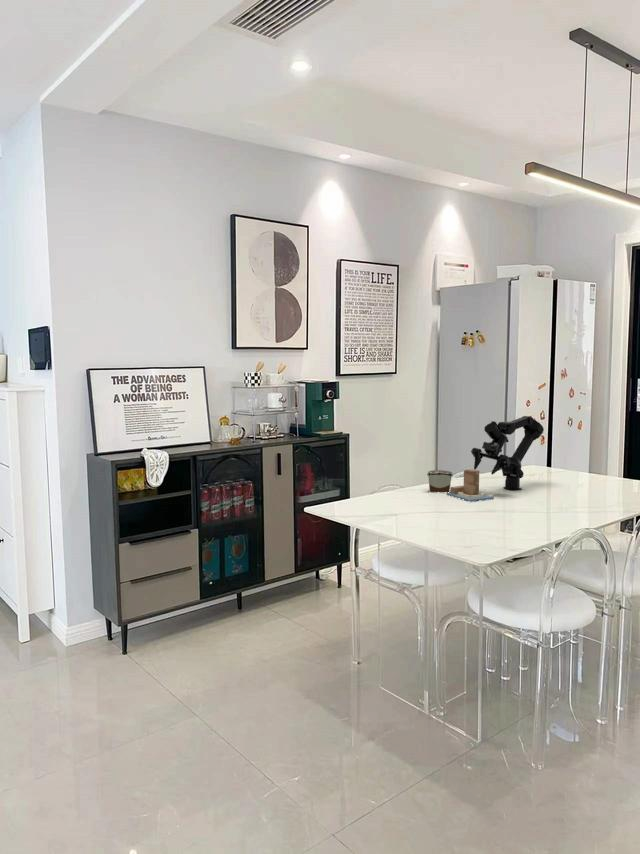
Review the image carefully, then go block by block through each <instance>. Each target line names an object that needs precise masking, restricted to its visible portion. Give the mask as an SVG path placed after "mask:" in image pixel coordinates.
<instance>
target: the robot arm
mask: <svg viewBox="0 0 640 854" xmlns="http://www.w3.org/2000/svg"><path fill="white" fill-rule="evenodd" d="M520 428H522V429H523V432H524V436H523V437H522V439H521V441H520V442H519V444H518V446H517V448H516V449H515V451H514V453H513V454H512V456H508V455H505V454H501V453H502V452H503V447H504V445H505V443H509V437H508V436H511V435H512V434H513V433H515V431H516V430H518V429H520ZM544 429H545V428H544V426H543V425H542V424H541V423H540V422H539V421H538V420H535V419H534V417H532V416H528V415H523V416H521V417H518V418H516V419H513V420H511V421H499V422H498V423H497V422H496V421H495V420H494V421H490V422H489V423H488V424H486V425H485V426H484V430H483V431H484V432H485V434H486V435H487V436H488V437H489V438H490V439H492V440H491V441H490V442H487V441H483V444H482V447H481V448H482V449H484V452H483V451H482V449H481V448H477V447H473V448H471V450H470V453H471V455H472V456H473V457H474V465H473V466H474V467H473V470H477V469H478V467H479V465H480V464H481V462H482V459H483V458H487V459H491V460H495V461H496V462H495V463H496V464H494V467H493V468H492V471H491V473H490V474H491V475H492V476H493V475H494V474H496V472H498V471H500V470H501V471H502V476H503V477H505V483H504V485H505V486H503V487H502V488H503V489H505V490H509V491H518V490H523V488H522V487H520V482H521V479H522V478H523V477H524V472H523V470H522V461H523V459H524V457H526V454H527V453H528V451H529V449H530V447H531V446H532V444H533V442H534V441H536V440H537V439H539V438H541V436H542V434H543V433H544ZM506 435H508V436H506Z"/></svg>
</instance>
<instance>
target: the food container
mask: <svg viewBox="0 0 640 854" xmlns="http://www.w3.org/2000/svg"><path fill="white" fill-rule="evenodd" d="M427 477H428V488H429V493H437V492H450V487H451V482H452V477H453V472H452V471H450V470H445V469H444V470H442V469H439V470H438V469H435V470H434V469H433V470H428V472H427Z"/></svg>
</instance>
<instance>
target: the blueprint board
mask: <svg viewBox="0 0 640 854" xmlns="http://www.w3.org/2000/svg"><path fill="white" fill-rule="evenodd" d="M463 488H464V485H457V486H450V491H449V493H446V495H447V496H449V495H450V496H449V497H452V496H454V497H453V498H455V497H457V498H456V499H458V498H460V499H459V500H462V499H464V500H463V501H465V500H467V501H466V502H468V501H474V502H478V501H477V500H482V501H487V500H486V499H490V500H494V498H495V497H494V496H492V495H488V494H485V493H482V492H479V495H472V496H469V495H466V494H463Z"/></svg>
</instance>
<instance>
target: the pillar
mask: <svg viewBox="0 0 640 854" xmlns="http://www.w3.org/2000/svg"><path fill="white" fill-rule="evenodd" d="M463 486H464V488H463V494H466V495H469V496H472V495H479V493H480V470H479V469H476V470H474V468H473V469H464V470H463Z"/></svg>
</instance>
